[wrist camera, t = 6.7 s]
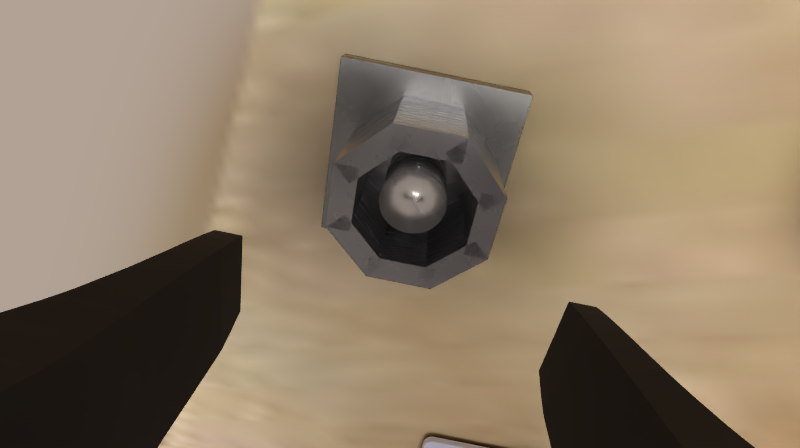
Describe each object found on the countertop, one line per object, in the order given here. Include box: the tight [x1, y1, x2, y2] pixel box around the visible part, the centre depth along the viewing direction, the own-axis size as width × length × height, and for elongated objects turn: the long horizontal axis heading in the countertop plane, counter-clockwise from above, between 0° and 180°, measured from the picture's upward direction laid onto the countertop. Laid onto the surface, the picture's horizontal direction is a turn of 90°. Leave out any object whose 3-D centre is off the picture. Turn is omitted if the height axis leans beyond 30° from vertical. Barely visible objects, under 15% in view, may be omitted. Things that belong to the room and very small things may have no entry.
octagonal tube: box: [326, 95, 507, 289], centre depth 16 cm, size 5×5×4 cm
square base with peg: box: [321, 54, 533, 233], centre depth 17 cm, size 7×7×4 cm
